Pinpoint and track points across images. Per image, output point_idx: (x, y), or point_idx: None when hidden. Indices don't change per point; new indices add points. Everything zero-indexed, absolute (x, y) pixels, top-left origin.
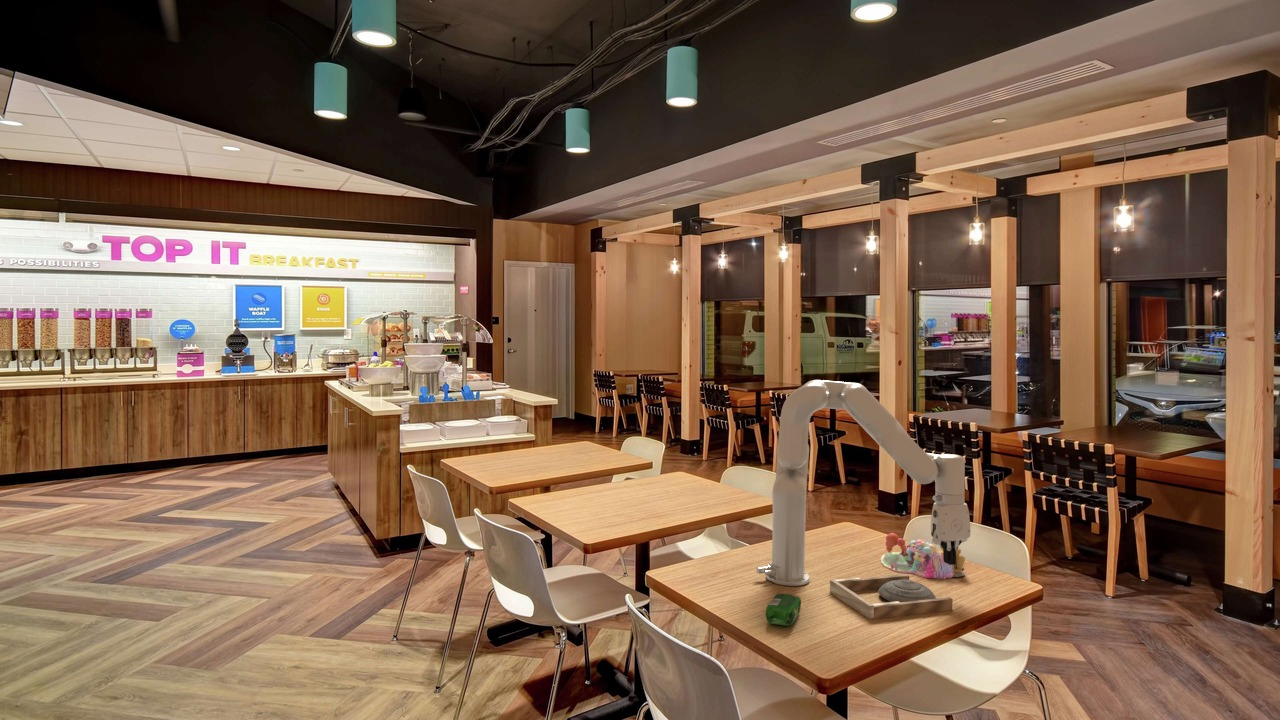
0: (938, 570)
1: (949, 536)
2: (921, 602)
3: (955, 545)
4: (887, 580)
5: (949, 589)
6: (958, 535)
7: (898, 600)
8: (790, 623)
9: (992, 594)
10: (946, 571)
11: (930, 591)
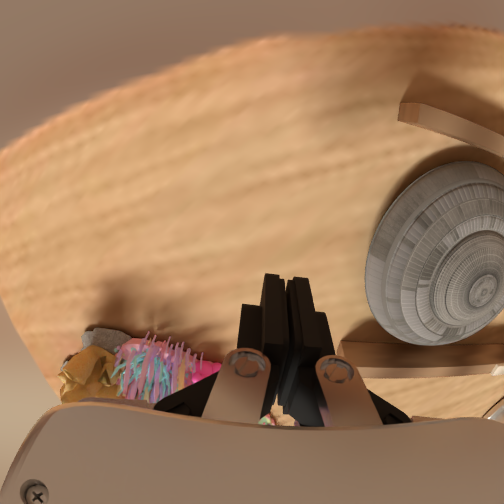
0: (164, 375)
1: (455, 470)
2: None
3: (260, 389)
4: (424, 361)
5: (225, 268)
6: (285, 493)
7: None
8: None
9: (100, 169)
10: (151, 357)
11: (429, 214)
